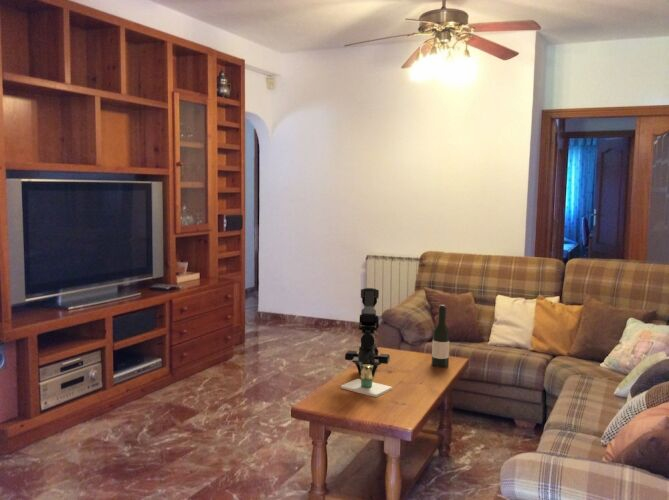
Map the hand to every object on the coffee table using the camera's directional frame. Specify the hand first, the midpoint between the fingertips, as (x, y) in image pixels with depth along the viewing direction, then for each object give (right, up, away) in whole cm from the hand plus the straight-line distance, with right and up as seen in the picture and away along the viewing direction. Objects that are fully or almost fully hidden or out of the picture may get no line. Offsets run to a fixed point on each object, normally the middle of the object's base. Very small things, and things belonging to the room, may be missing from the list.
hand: (366, 376), depth 267 cm
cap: (0, -1, 0) cm, 0 cm away
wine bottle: (+38, -2, +38) cm, 54 cm away
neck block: (0, -5, +1) cm, 6 cm away
